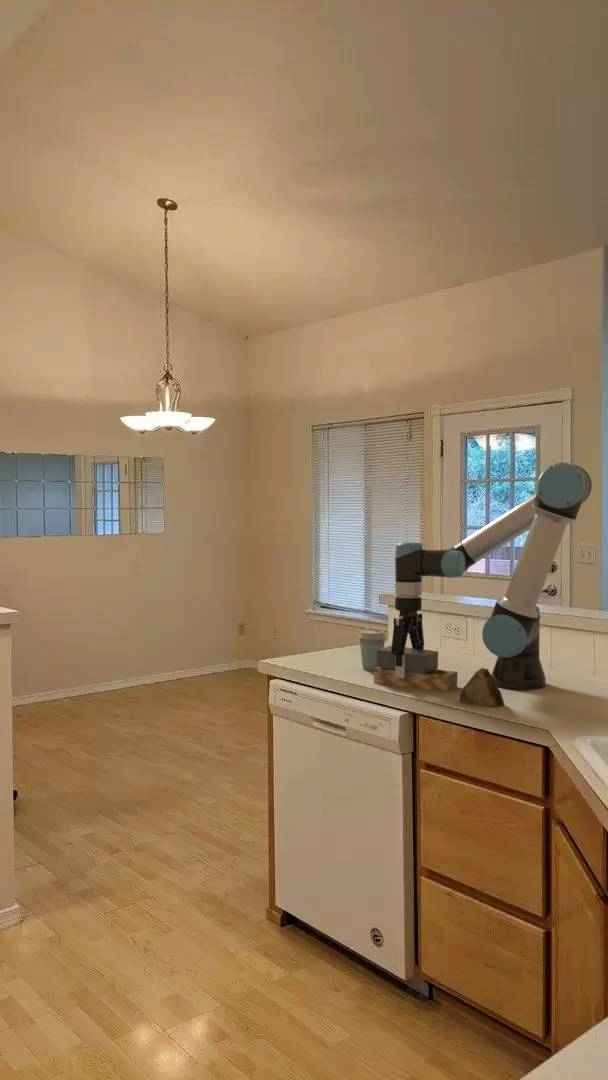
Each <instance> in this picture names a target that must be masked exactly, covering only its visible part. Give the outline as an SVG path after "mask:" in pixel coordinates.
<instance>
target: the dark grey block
mask: <svg viewBox="0 0 608 1080" xmlns="http://www.w3.org/2000/svg"><path fill="white" fill-rule="evenodd" d="M391 649H392V645H389V646H384V648H382V649H378V650H377V667H380V668H387V669H394V670H395V668H396V655H395V654H392V653H391ZM403 655H405V671H408V672H415V673H422V674H425V673H428V672H430V671H433V670H436V669H438V670H439V651H438V650H432V649H431V650H429V649H415V648H412V647H408V646H407V647H406V646H405V650H404V654H403Z"/></svg>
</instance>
